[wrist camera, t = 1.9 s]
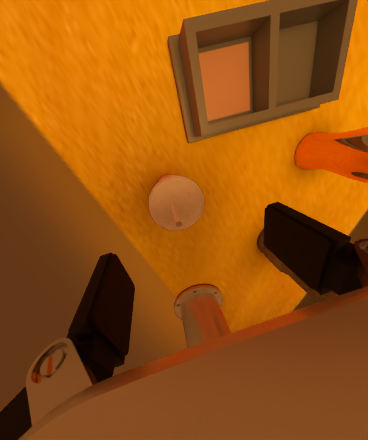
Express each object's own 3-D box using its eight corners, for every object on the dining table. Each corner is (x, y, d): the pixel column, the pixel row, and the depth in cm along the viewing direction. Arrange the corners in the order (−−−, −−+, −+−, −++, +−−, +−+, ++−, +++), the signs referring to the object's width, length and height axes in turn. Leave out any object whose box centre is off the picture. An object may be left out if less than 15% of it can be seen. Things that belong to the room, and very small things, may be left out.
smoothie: (148, 164, 24) (145, 186, 11) (189, 166, 25) (226, 188, 13) (149, 203, 27) (148, 256, 14) (186, 203, 28) (214, 251, 15)
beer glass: (285, 152, 27) (413, 160, 14) (319, 118, 26) (498, 91, 12) (301, 179, 30) (419, 206, 17) (332, 149, 29) (489, 155, 15)
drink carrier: (313, 108, 25) (344, 102, 21) (187, 142, 24) (195, 142, 20) (327, 5, 20) (371, -30, 16) (167, 41, 18) (172, 13, 14)
